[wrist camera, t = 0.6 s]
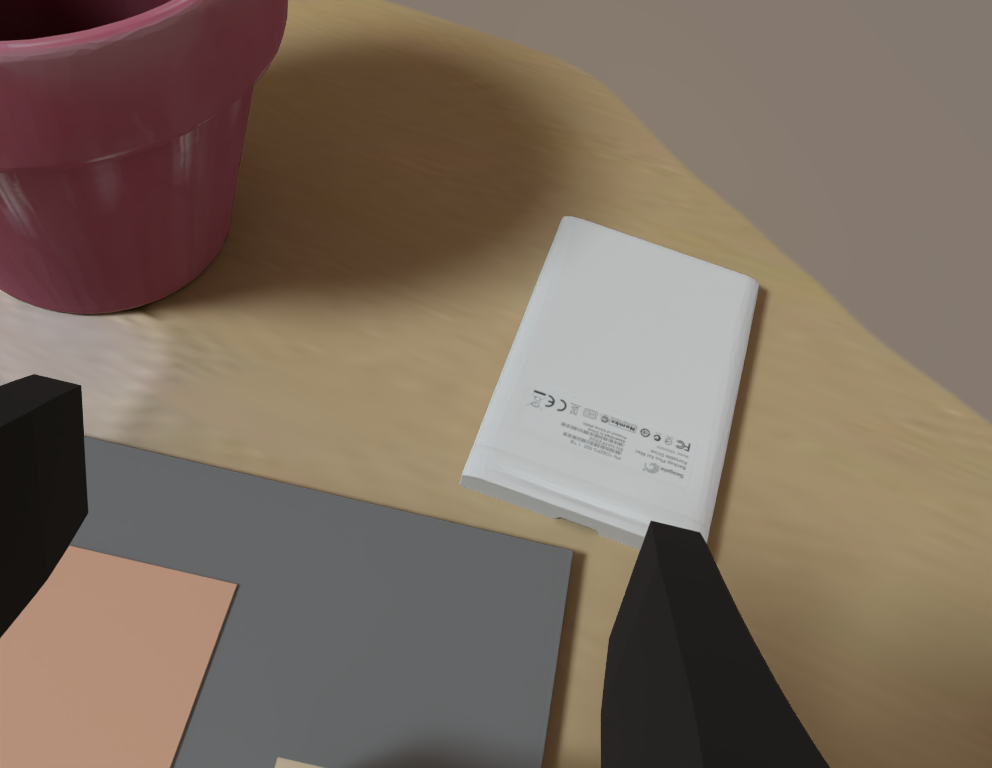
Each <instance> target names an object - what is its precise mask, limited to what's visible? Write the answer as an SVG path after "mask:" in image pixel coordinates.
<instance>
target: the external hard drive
mask: <svg viewBox="0 0 992 768" xmlns="http://www.w3.org/2000/svg"><path fill="white" fill-rule="evenodd" d="M758 290H759V283H758V282H757V281H756V280H754V279H753V278H751V277H749V276H747V275H744V274H741V273H738V272H735V271H732V270H729V269H727V268H724V267H721V266H718V265H715V264H712V263H709V262H706V261H703V260H700V259H697V258H694V257H691V256H688V255H685V254H683V253H680V252H677V251H674V250H671V249H669V248H665V247H663V246H659V245H656V244H653V243H650V242H648V241H646V240H643V239H640V238H637V237H634V236H631V235H628V234H624V233H621V232H619V231H617V230H613V229H610V228H607V227H605V226H601V225H599V224H596V223H593V222H590V221H587V220H584V219H580V218H576V217H573V216H564V217H563V218H562V220H561V222H560V225H559V228H558V230H557V233H556V235H555V238H554V241H553V243H552V246H551V248H550V250H549V253H548V255H547V258H546V261H545V263H544V266H543V268H542V271H541V273H540V276H539V278H538V281H537V283H536V286H535V288H534V291H533V294H532V296H531V299H530V301H529V304H528V306H527V309H526V311H525V314H524V317H523V319H522V322H521V324H520V327H519V329H518V332H517V334H516V337H515V340H514V342H513V345H512V347H511V350H510V352H509V355H508V357H507V360H506V362H505V365H504V368H503V370H502V373H501V375H500V378H499V380H498V383H497V385H496V388H495V390H494V393H493V396H492V398H491V401H490V403H489V406H488V408H487V411H486V414H485V416H484V419H483V421H482V424H481V427H480V429H479V432H478V434H477V437H476V439H475V442H474V445H473V447H472V450H471V452H470V455H469V457H468V460H467V462H466V465H465V468H464V470H463V472H462V476H461V480H460V483H459V485H460V486H462V487H465V488H468V489H471V490H474V491H477V492H480V493H482V494H485V495H488V496H491V497H493V498H496V499H499V500H502V501H505V502H507V503H510V504H513V505H516V506H519V507H521V508H524V509H527V510H530V511H532V512H535V513H538V514H541V515H544V516H547V517H549V518H552V519H558V518H559V517H561V518H564V519H567V520H570V521H572V522H575V523H578V524H581V525H584V526H586V527H589V528H592V529H594V530H596V532H597V534H598V535H600V536H602V537H605V538H608V539H610V540H613V541H616V542H619V543H622V544H624V545H627V546H630V547H633V548H635V549H638V550H641V547H642V544H643V541H644V538H645V535H646V532H647V530H648V527H649V524H650V521H655V522H659V523H663V524H668V525H672V526H676V527H680V528H684V529H689V530H693V531H697V532H700V533H701V535H702V536H703V538H704V540H705V541H706V544H707V541H708V536H709V531H710V525H711V522H712V517H713V512H714V508H715V503H716V498H717V493H718V488H719V483H720V479H721V474H722V469H723V464H724V459H725V454H726V450H727V445H728V440H729V434H730V430H731V425H732V420H733V415H734V410H735V405H736V401H737V396H738V390H739V385H740V380H741V375H742V371H743V366H744V361H745V356H746V351H747V346H748V341H749V336H750V331H751V325H752V320H753V315H754V310H755V306H756V301H757V295H758Z"/></svg>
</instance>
